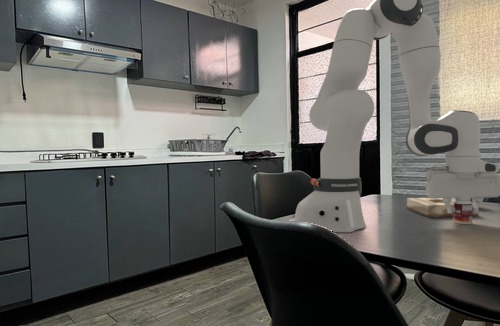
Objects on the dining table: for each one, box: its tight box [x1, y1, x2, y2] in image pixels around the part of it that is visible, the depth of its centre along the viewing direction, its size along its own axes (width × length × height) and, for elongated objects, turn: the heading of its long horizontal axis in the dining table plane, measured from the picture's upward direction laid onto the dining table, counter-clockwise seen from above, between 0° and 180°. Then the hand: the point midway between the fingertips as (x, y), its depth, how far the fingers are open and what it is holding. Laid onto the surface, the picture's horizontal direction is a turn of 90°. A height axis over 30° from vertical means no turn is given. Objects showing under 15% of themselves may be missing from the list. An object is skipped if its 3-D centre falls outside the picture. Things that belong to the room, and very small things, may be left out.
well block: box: [406, 197, 480, 218], centre depth 119 cm, size 16×16×4 cm
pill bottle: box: [452, 195, 473, 225], centre depth 102 cm, size 5×5×8 cm
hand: (462, 212), depth 102 cm, fingers open, 5 cm apart
